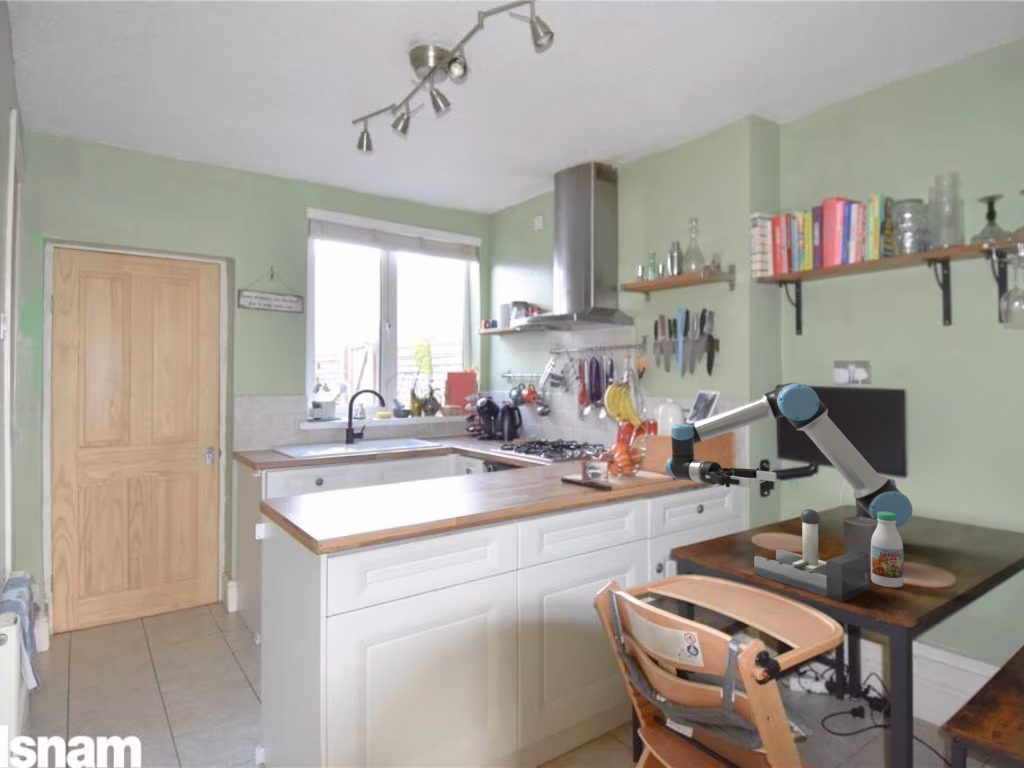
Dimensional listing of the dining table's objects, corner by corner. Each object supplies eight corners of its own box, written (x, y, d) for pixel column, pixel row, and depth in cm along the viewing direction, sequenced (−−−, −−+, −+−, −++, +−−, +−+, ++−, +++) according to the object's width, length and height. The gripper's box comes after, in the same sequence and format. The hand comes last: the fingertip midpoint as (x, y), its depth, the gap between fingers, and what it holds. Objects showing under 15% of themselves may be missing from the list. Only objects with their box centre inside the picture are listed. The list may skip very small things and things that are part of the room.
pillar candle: (837, 559, 184) (836, 512, 184) (868, 558, 184) (868, 511, 183) (854, 570, 174) (853, 521, 174) (887, 569, 174) (886, 520, 174)
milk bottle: (864, 579, 167) (864, 510, 166) (889, 577, 167) (889, 509, 167) (884, 589, 159) (883, 517, 159) (910, 587, 160) (910, 515, 159)
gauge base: (753, 573, 173) (752, 540, 173) (780, 564, 180) (780, 532, 180) (841, 602, 151) (841, 564, 151) (868, 590, 159) (868, 553, 158)
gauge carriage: (786, 576, 164) (785, 511, 163) (808, 568, 170) (807, 505, 169) (806, 582, 159) (806, 515, 158) (828, 574, 165) (828, 509, 164)
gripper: (729, 478, 204) (786, 486, 187) (682, 488, 190) (738, 498, 173) (728, 456, 204) (785, 463, 186) (681, 465, 190) (738, 473, 173)
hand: (763, 480), depth 180 cm, fingers open, 13 cm apart
